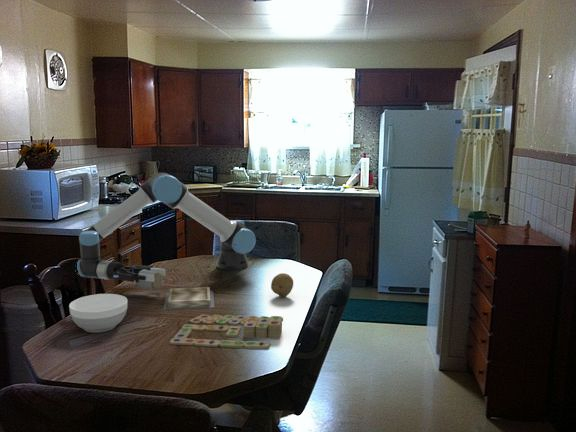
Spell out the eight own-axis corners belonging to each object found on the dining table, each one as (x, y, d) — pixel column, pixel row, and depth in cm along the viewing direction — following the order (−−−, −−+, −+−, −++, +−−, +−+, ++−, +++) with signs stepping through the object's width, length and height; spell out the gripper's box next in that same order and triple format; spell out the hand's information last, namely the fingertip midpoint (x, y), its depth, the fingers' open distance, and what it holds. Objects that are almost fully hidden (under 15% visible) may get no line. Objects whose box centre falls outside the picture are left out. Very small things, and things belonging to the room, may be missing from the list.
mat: (213, 291, 219) (213, 291, 219) (214, 308, 200) (214, 307, 200) (166, 293, 216) (166, 292, 216) (163, 310, 197) (163, 309, 197)
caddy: (209, 292, 217) (209, 287, 217) (210, 305, 202) (210, 299, 201) (170, 294, 214) (169, 288, 214) (167, 307, 199) (167, 301, 198)
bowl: (110, 339, 170) (109, 314, 168) (58, 334, 174) (57, 309, 172) (138, 319, 188) (137, 295, 187) (90, 314, 192) (89, 291, 190)
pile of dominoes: (285, 319, 190) (285, 305, 189) (277, 351, 164) (277, 334, 163) (191, 315, 193) (191, 301, 192) (168, 346, 167) (168, 329, 166)
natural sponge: (280, 302, 207) (280, 278, 205) (266, 296, 214) (266, 273, 212) (297, 297, 213) (297, 274, 211) (283, 292, 219) (283, 269, 218)
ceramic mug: (153, 292, 208) (152, 273, 206) (136, 290, 211) (135, 271, 210) (168, 285, 217) (168, 267, 216) (152, 283, 220) (151, 265, 219)
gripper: (126, 272, 227) (172, 277, 221) (95, 286, 208) (145, 292, 201) (125, 255, 226) (172, 259, 219) (94, 268, 207) (144, 273, 200)
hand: (159, 275), depth 210 cm, fingers closed on ceramic mug, 8 cm apart
